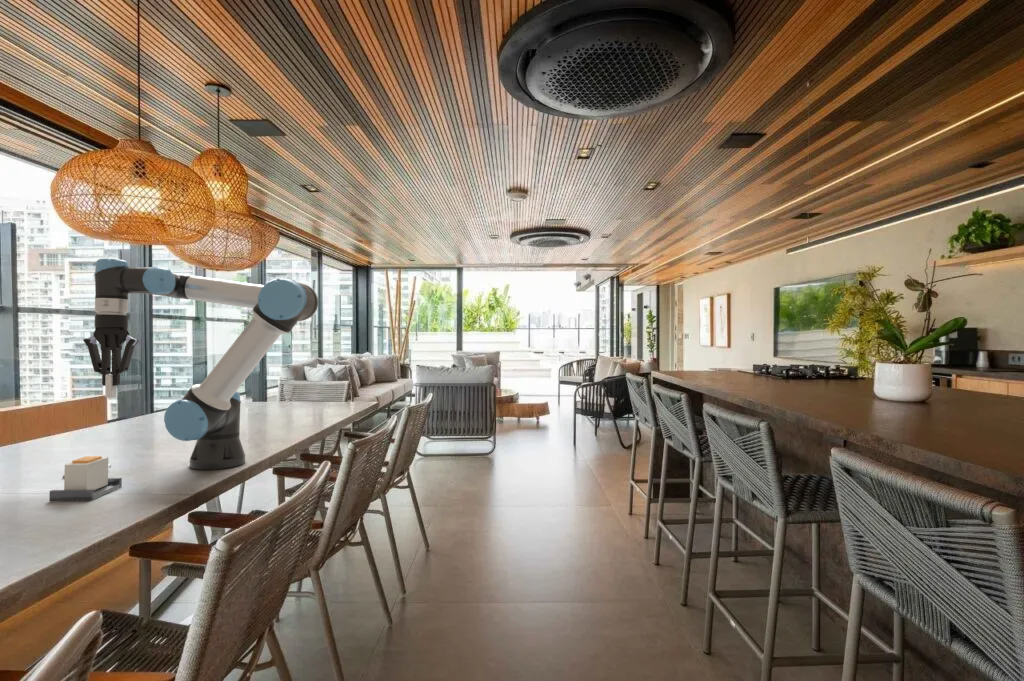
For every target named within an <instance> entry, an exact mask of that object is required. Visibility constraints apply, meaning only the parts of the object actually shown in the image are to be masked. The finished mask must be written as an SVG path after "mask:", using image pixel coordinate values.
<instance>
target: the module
mask: <svg viewBox="0 0 1024 681" xmlns="http://www.w3.org/2000/svg"><path fill="white" fill-rule="evenodd" d="M108 463H109V457H108V456H106V457H105V456H102V455H96V456H95V455H89V456H87V455H86V456H83V457H79V458H77V459H74V460H73V459H72V461H71V462H69V463H66V464H64V473H63V475H64V479H63V481H64V483H63V486H64V487H63V488H64V489H63V490H90V489H94V490H96V489H98V488H101V487H103V486H105V485H108V478H109V469H108Z"/></svg>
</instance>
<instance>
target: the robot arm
mask: <svg viewBox="0 0 1024 681" xmlns="http://www.w3.org/2000/svg"><path fill="white" fill-rule="evenodd" d="M94 269H95V271H94V274H93V276H94V283H95V284H94V285H95V290H94V291H95V296H94V312H95V313H97V314H95V315H94V328H95V329H94V332H93V334H92V335H91V336H90V337H88V338H83V343H84V345H86V346H87V349H88V352H89V357H90V361H91V365H92V368H93V371H94V373H99V374H101V384H102V386H103V387H105V388H104V389H105V391H104V392H105V393H104V395H105V396H104V398H106V399H112V398H116V397H117V387H118V386H120V384H121V374H122V373H126V372H128V371H129V368H130V364H131V360H132V356H133V354H134V350H135V347H136V345H137V344H138V342H139V339H138V338H134V337H132V336H131V335H130V333H129V330H128V328H129V316H128V315H126V314H128V313H129V294H140V295H141V294H142V295H146V294H147V295H154V296H155V295H156V296H162V297H169V298H170V297H171V298H175V299H183V300H191V301H199V302H205V303H213V304H220V305H225V306H233V307H241V308H248V309H249V308H250V309H252V314H253V317H252V319H251V320H250V321H249V323H248V324H247V325H246V326H245V328H243V330H242V332H241V333H240V334H239V335H238V336H237V338H236V339H235V340H234V342H233V343H232V344H231V346H230V347H229V348H228V349H227V351H226V352H225V353H224V354H223V356H222V357H221V358H220V360H219V361H218V362H217V364H215V366H214V367H213V369H212V370H211V371H210V372H209V373H208V375H207V376H206V378H205V379H204V380H203V381H202V382H201V383H196V384H193V385H191V387H190V388H189V390H188V391H187V392H186V394H184V396H183V397H182V398H181V399H177V400H176V401H174V402H172V403H171V404H170V405H169V406H168V407H167V408H166V410H165V412H164V416H163V417H164V418H163V422H164V425H165V426H164V427H165V429H166V431H167V432H168V433H169V434H170V436H172V437H173V438H174V439H176V440H179V441H183V442H191V441H196V442H195V444H194V448H193V450H192V453H191V456H190V458H189V468H191V469H194V470H202V471H203V470H205V471H206V470H207V471H208V470H221V469H222V470H223V469H229V468H234V467H238V466H241V465H243V464H245V463H246V453H245V450H244V448H243V447H244V446H243V445H242V442H241V439H240V433H241V432H240V431H241V430H240V429H241V427H240V426H241V425H240V423H241V404H242V401H241V394H240V392H238V390H239V388H240V387H241V386H242V385H243V383H244V382H245V381H246V379H247V378H248V377H249V376H250V374H252V372H253V370H254V369H255V367H256V366H258V364H259V363H260V362H261V360H262V359H263V358H264V356H265V355H266V354H267V353H268V351H269V350H270V348H272V346H273V345H274V344H275V343H276V341H277V339H278V338H279V337H280V336H281V335H286V334H289V333H290V332H291V330H292V329H294V327H295V326H296V324H297V323H298V322H302V321H303V322H304V321H306V320H308V319H310V318H311V317H313V315H314V314H315V313H316V312H317V310H318V307H319V299H318V295H317V293H316V291H315V290H314V289H313V288H312V287H311V286H309V285H307V284H305V283H302V282H299V281H296V280H295V279H290V278H285V277H284V278H276V279H275V278H274V279H272V280H270V281H268V282H266V283H265V284H264V285H263V284H257V283H250V282H249V283H248V282H242V281H241V282H240V281H235V280H228V279H227V280H225V279H220V278H212V277H204V276H200V275H191V274H184V273H177V272H173V271H172V269H171V270H170V269H169V268H166V267H158V266H151V267H148V266H146V267H145V266H144V267H143V266H142V267H141V266H138V267H137V266H136V267H135V266H134V267H131V266H129V262H128V261H126V260H124V259H118V258H117V259H116V258H99V259H97V260H96V262H95V268H94ZM97 343H98V344H99V345H100V347H98V345H97ZM124 343H126V344H125V347H124V350H123V344H124ZM99 348H100V350H99ZM122 350H123V354H122ZM100 351H101V354H100Z"/></svg>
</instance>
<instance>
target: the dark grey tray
mask: <svg viewBox="0 0 1024 681" xmlns="http://www.w3.org/2000/svg"><path fill="white" fill-rule="evenodd" d="M122 481H123V477H108V485H105V486H103V487H101V488H98V489H96V490H94V489H90V490H64V489H52V490H49V494H48V495H49V496H48V498H49V501H63V502H91V500H92V501H94V500H96V499H98V498H97V497H99V498H101V497H103V496H105V495H107V494H109V492H110V493H111V491H112V492H114V491H117V490H118V488H119V489H121V488H122V487H123V486H122V484H123V482H122ZM120 487H121V488H120ZM113 490H114V491H113ZM106 493H107V494H106ZM104 494H105V495H104ZM102 495H103V496H102ZM100 496H101V497H100ZM95 498H96V499H95ZM93 499H94V500H93Z"/></svg>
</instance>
